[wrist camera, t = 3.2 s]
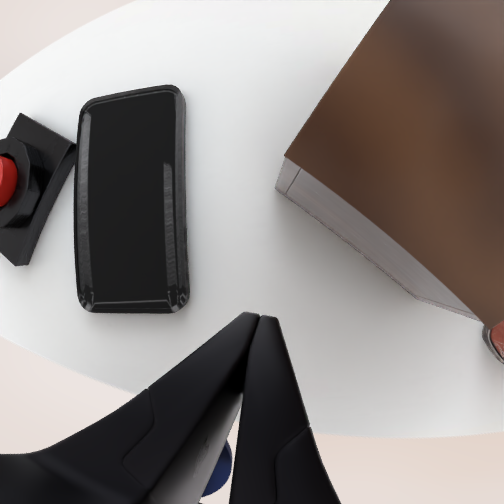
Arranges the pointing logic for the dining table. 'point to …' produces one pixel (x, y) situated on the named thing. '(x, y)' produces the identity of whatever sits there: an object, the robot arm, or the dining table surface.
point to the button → (7, 179)
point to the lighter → (495, 340)
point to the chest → (366, 238)
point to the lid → (423, 140)
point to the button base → (32, 184)
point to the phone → (131, 203)
